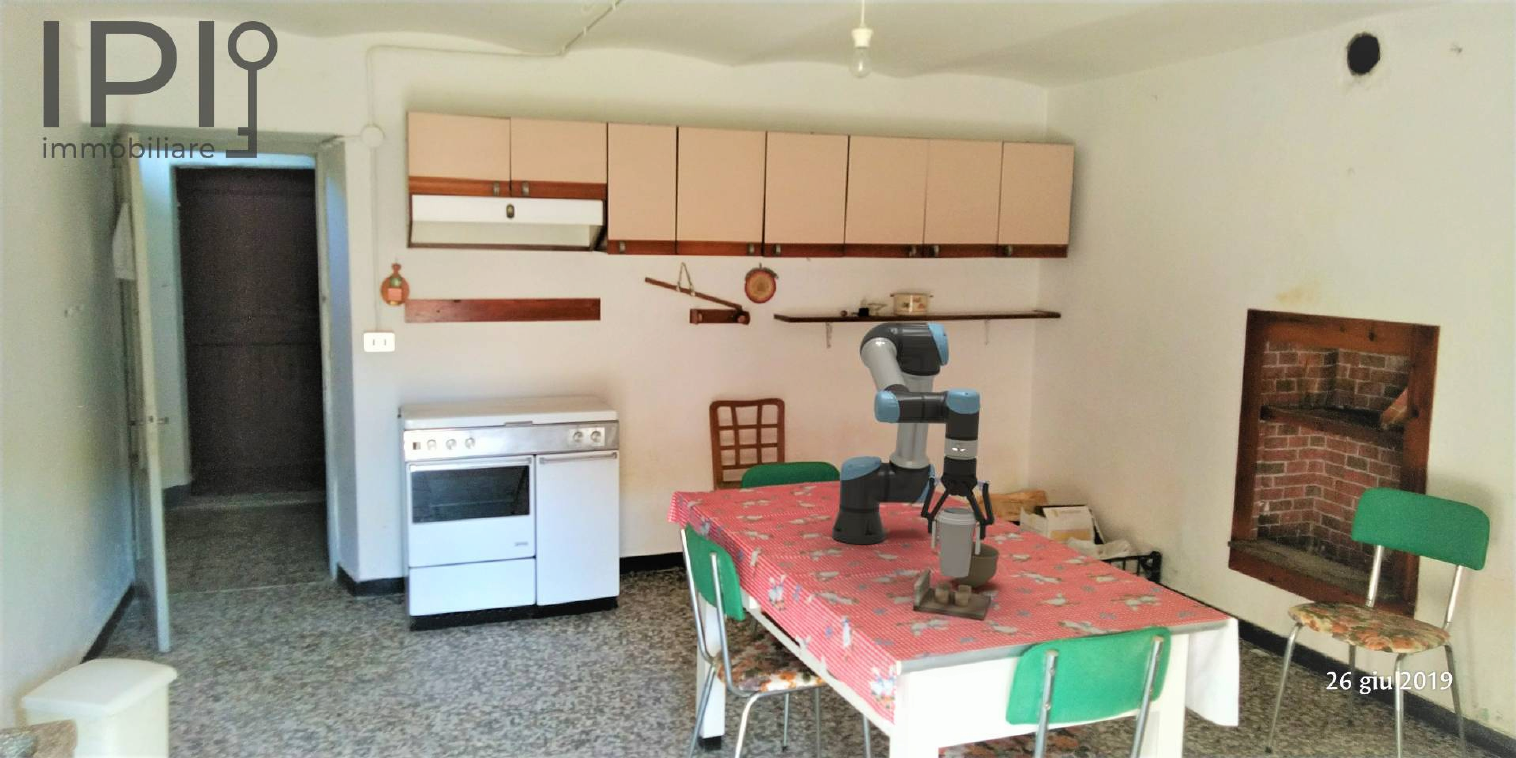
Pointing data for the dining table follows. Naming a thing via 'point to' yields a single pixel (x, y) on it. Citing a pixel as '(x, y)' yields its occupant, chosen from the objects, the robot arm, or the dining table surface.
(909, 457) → the robot arm
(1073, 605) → the dining table surface
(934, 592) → the peg stand
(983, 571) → the bowl
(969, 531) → the coffee cup
